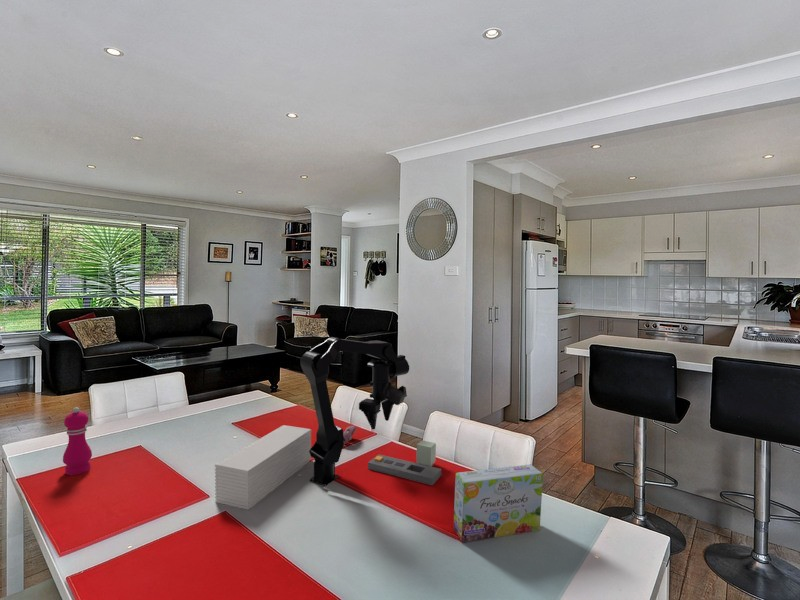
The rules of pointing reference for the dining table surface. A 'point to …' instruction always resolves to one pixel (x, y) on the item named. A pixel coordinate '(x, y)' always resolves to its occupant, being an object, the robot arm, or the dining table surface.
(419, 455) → the block
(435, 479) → the power strip
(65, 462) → the pepper mill
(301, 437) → the stack of papers
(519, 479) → the snack box
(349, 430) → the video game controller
